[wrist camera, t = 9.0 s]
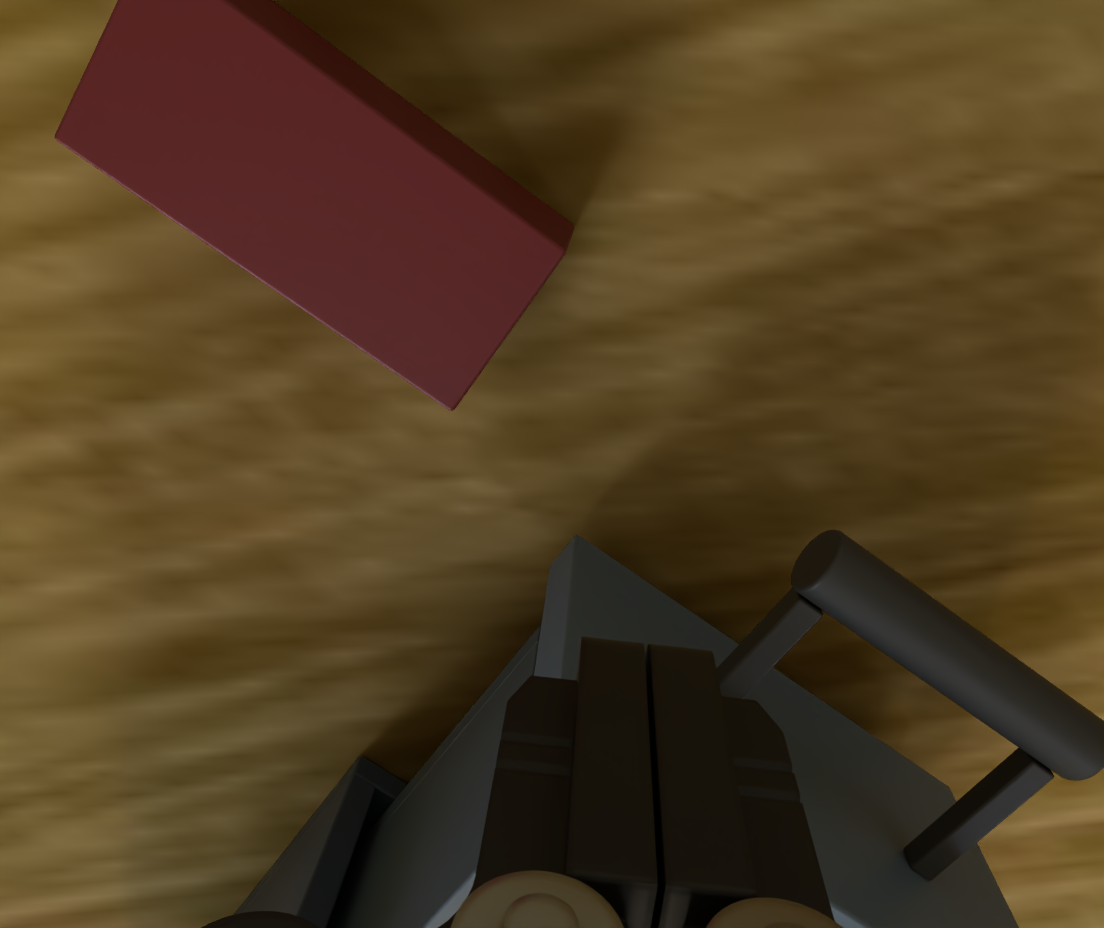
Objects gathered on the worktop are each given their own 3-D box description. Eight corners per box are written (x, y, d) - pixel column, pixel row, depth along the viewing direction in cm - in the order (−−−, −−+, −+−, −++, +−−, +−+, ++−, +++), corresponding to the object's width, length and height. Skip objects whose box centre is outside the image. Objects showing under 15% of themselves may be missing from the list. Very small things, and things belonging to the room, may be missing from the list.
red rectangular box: (151, 134, 21) (50, 138, 17) (234, -29, 20) (144, -62, 16) (479, 363, 22) (451, 413, 19) (576, 226, 21) (567, 250, 17)
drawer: (701, 377, 21) (746, 515, 14) (1090, 662, 23) (1308, 914, 16) (306, 864, 27) (193, 1139, 20) (642, 1058, 29) (651, 1373, 22)
